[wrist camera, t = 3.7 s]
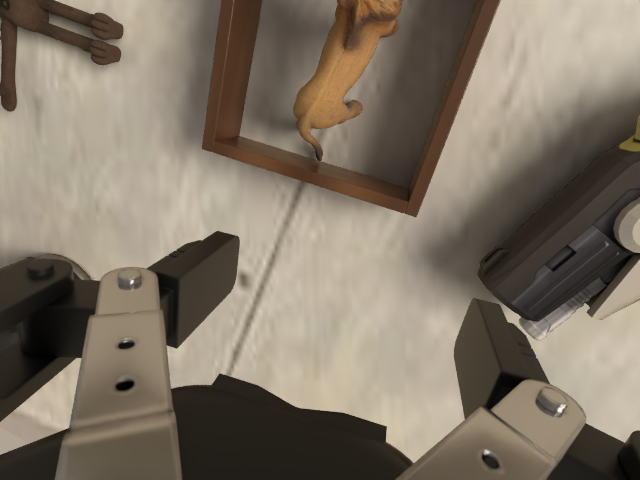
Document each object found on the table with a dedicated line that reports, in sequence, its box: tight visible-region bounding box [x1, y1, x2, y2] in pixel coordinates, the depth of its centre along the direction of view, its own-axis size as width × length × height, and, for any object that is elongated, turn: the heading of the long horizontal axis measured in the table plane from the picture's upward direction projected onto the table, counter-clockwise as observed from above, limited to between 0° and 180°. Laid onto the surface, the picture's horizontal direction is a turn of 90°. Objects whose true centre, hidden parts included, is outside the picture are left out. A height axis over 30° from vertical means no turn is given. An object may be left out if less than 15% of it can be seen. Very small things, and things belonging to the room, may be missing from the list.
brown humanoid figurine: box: [0, 0, 123, 111], centre depth 30 cm, size 18×4×14 cm
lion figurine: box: [293, 0, 402, 161], centre depth 24 cm, size 15×5×9 cm, turn 162°
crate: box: [202, 0, 501, 217], centre depth 26 cm, size 17×18×4 cm
